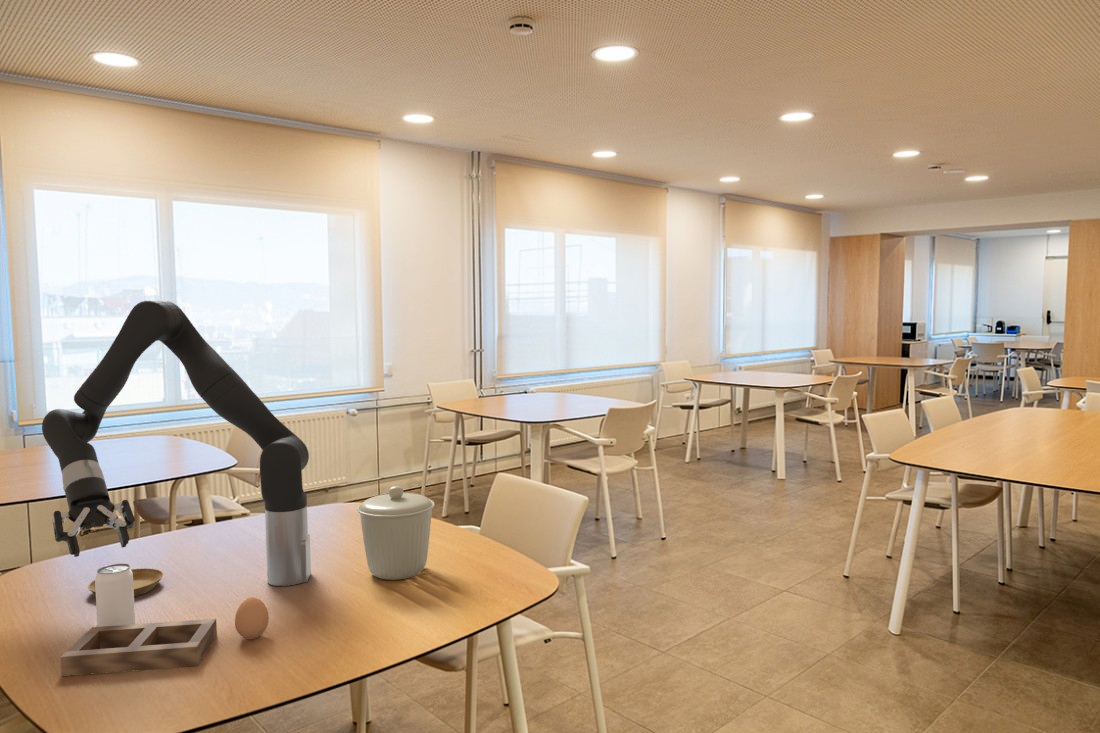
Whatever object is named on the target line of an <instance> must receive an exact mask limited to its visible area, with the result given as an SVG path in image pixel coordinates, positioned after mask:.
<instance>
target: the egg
mask: <svg viewBox="0 0 1100 733" xmlns="http://www.w3.org/2000/svg"><path fill="white" fill-rule="evenodd" d="M236 610H237V611H236V612H235V616H234V617H235V618H234V626H235V627H234V628H235V630H236V631H237V633H238V634H239V636H241V638H244V639H247V640H255V639H258V638H259V637H260V636H262V635H263V634H264V632H266V630H267V627H268V626H269V622H270V620H269V619H270V617H269V615H270V614H269V611H268V608H267V606H266V604H265V603H264V602H263V601H262V600H261V599H260V598H258V597H254V596H251V597H248V598H246V599H245V600H243V601H242V602H241V603H240V605H239V606H238V608H237V609H236Z"/></svg>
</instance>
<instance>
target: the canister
mask: <svg viewBox="0 0 1100 733" xmlns="http://www.w3.org/2000/svg"><path fill="white" fill-rule="evenodd" d="M435 504H436V503H435V502H434V500H432V499H430V498H428V497H427V496H425V495H421V494H419V493H413V492H412V493H411V492H404V488H403V487H402V486H400V485H392V486H391V487H389V489H388V492H387V493H385V494H378V495H375V496H372V497H370V498H367V499H365V500H364V501H363V502H362V503H360V504H358V506H357V507H356V511H357V513H359V516H360V525H361V531H362V532H361V533H362V537H363V538H362V539H363V545H364V550H365V551H364V553H365V556H366V557H365V558H366V563H367V567H368V570H369V572H370V573H371V574H372V575H373V576H374V577H376V578H378V579H381V580H387V581H388V580H389V581H397V580H399V581H400V580H405V579H410V578H413V577H414V576H415V577H416V576H418V575H419V574H420V573H422V572H423V570H424V569H425V567H426V565H427V560H428V554H429V553H428V552H429V545H430V535H431V523H432V512H433V509H434V507H436V506H435Z"/></svg>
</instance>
